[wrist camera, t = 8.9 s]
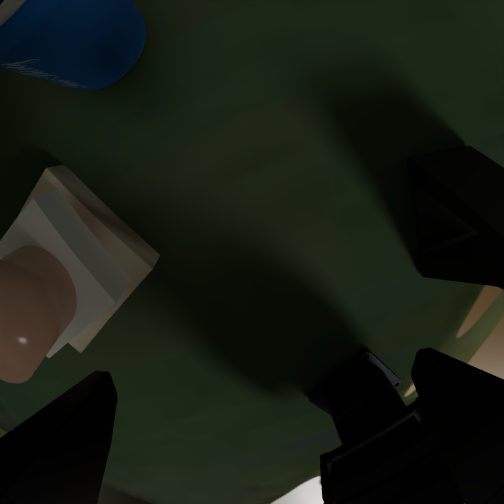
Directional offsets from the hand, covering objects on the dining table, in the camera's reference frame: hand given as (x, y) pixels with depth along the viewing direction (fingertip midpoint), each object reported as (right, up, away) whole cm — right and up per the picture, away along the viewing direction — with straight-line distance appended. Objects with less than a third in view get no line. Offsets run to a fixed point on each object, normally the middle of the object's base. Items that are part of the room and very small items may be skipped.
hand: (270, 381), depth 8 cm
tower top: (-13, +2, +9) cm, 16 cm away
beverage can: (-10, +17, +8) cm, 21 cm away
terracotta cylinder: (-12, +1, +7) cm, 14 cm away
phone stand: (+14, +7, +13) cm, 20 cm away
